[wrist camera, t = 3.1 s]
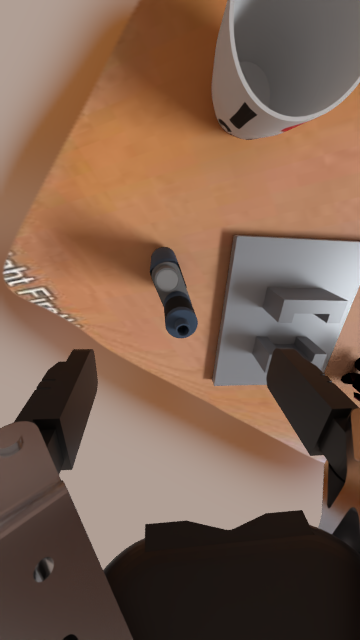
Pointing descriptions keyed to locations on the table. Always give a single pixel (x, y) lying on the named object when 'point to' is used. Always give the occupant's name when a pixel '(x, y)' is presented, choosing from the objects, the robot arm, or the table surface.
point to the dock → (283, 303)
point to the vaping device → (172, 293)
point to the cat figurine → (353, 379)
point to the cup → (283, 63)
